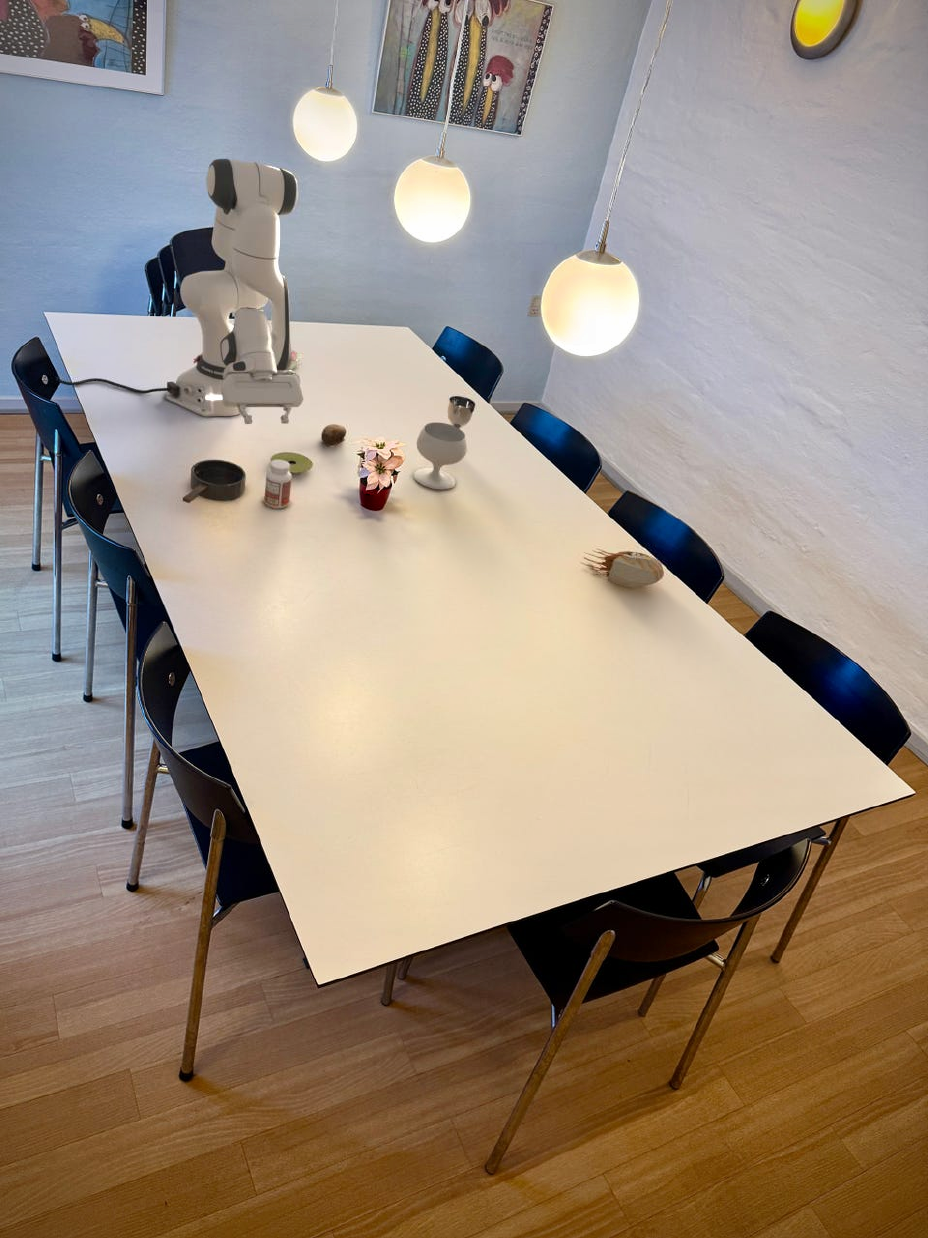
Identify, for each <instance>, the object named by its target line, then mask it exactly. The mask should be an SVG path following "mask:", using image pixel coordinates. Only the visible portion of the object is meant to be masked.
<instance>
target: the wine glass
mask: <svg viewBox="0 0 928 1238" xmlns="http://www.w3.org/2000/svg"><path fill="white" fill-rule="evenodd" d="M475 408H476V402H475V401H473V400H472V399H471V398H468V397H465V396H460V395H453V396H450V397H449V398H448V403H447V418H448V421H449V422H450V425H452V426H455V427H457V428H459V429H460V430H461V429H462V428H463V427H464V426H466V425H468V424H469V423H470V421H471V419H472V417H473V415H474V413H475Z"/></svg>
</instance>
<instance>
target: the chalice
mask: <svg viewBox="0 0 928 1238" xmlns="http://www.w3.org/2000/svg"><path fill="white" fill-rule="evenodd" d="M467 443H468V442H467V437H466V433H465V432H464V431H463V430H462V429H461V428H460V429H459V428H457V427H455V426H452V424H451V423H450V424H449V423H447V422H446V423H445V422H436V421H435V422H429V423H427V424H426V425H424V426H423V427H422V429H421V430H420V432H419V434H418V436H417V439H416V449H417V451H418V452H419V454H420V456H422V457H423V458H424V459H425V460H427V461H429V462H430V463H431V465H432V467H422V468H419V469H417V470H415V471H414V473H413V479H414V480H415V481H416V482H417V483H419V484H420V485H422V486H424V487H426V488H430V489H433V490H449V489H452V488H454V486H455V485H456V480H455V478H454V477H453V475H452V474H450V473H449V472H447V471H445V470H442V467H444V466H448V465H454V464H457V463H459V462H461V461H462V460H463V459H464V457H465V456H466V454H467V448H468V444H467Z"/></svg>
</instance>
